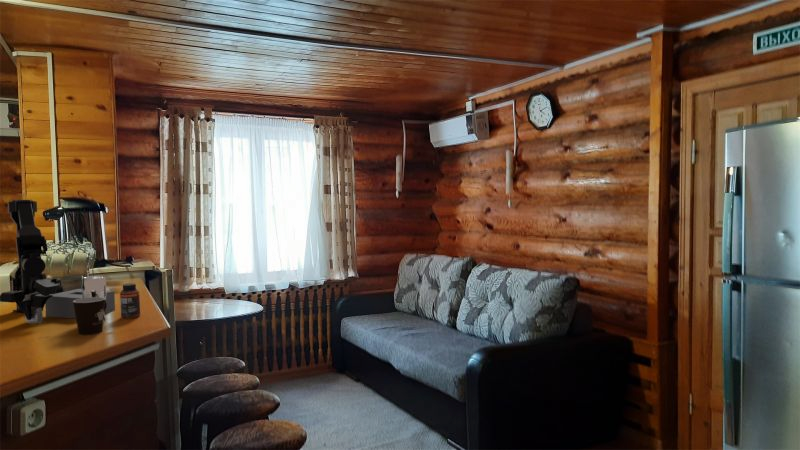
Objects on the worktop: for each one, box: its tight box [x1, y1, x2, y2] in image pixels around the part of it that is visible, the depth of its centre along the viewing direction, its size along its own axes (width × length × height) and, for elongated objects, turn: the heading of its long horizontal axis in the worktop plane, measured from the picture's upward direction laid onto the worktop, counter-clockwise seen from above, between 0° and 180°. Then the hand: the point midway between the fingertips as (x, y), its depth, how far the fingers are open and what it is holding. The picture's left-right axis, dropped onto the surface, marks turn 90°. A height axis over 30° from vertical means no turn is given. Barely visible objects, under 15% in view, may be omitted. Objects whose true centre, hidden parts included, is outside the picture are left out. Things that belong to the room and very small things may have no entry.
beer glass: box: [81, 275, 107, 324], centre depth 186 cm, size 7×7×15 cm
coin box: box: [44, 288, 116, 319], centre depth 201 cm, size 16×14×7 cm
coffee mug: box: [73, 297, 107, 336], centre depth 176 cm, size 12×9×10 cm
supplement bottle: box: [119, 282, 141, 320], centre depth 195 cm, size 6×6×11 cm
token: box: [24, 306, 44, 325], centre depth 188 cm, size 5×2×5 cm, turn 74°
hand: (34, 318), depth 188 cm, fingers open, 3 cm apart
